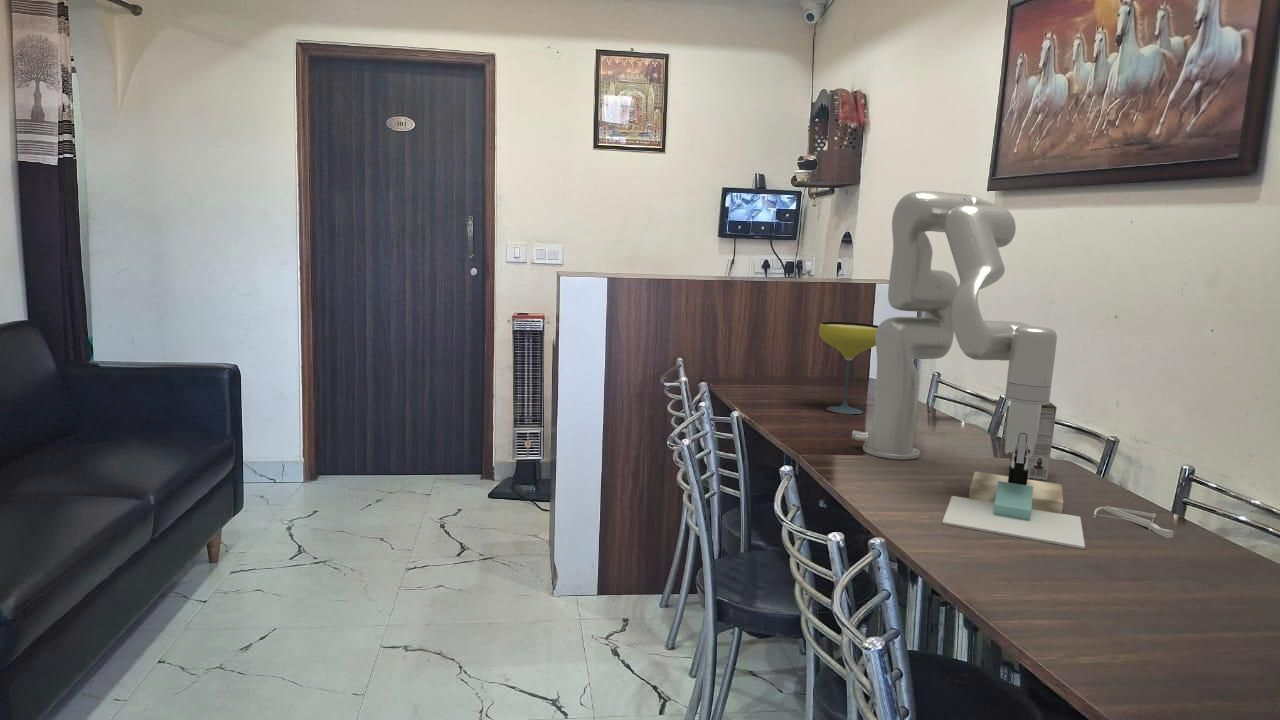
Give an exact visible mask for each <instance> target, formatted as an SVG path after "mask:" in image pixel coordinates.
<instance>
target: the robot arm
mask: <svg viewBox="0 0 1280 720" xmlns="http://www.w3.org/2000/svg"><path fill="white" fill-rule="evenodd" d="M1016 227H1017V226H1016V221H1015V218H1014V216H1013V215H1012V213H1011V212H1010V211H1009V210H1008V209H1007V208H1006V207H1004V206H1001V205H999V204H997V203H994V202H991V201H988V200H985V199H984V198H980V197H979V196H975V195H972V194H967V193H966V194H963V193H953V192H943V191H936V190H935V191H933V190H931V191H929V190H920V191H913V192H909V193H907V194H905V195H904V196H902V197H901V198H900V200H899V201H898V202H897V204H896V206H895V208H894V210H893V214H892V220H891V232H892V234H891V235H892V246H893V248H892V256H891V263H890V272H889V280H888V287H887V288H888V289H887V290H888V291H887V299H888V303H889V305H890V307H892V308H893V309H894V310H897V311H902V312H915V313H916V312H919V313H920V312H921V313H922V312H923V313H924V317H917V316H895V317H890V318H886V319H884V320H883V321H882V322H881V323H879V325H877V326H878V328H877V331H876V337H875V340H876V346H875V349H876V364H877V365H876V375H875V376H876V379H875V391H874V401H873V412H872V424H871V429H870V430H869V431H866V432H865V431H860V430H852V433H851V438H852V439H853V440H855V441H858V442H859V441H860V442H861V441H862V442H865V443H864V444H863V446H862V450H863V451H864V452H865V453H867V454H869V455H871V456H875V457H878V458H879V457H880V458H884V459H888V460H889V459H891V460H914V459H917V458H919V457H920V454H921V452H920V450H919V449H918V448H917V447H916V448H915V446H914V440H915V431H916V430H915V429H916V420H917V410H918V403H919V402H918V400H919V391H920V374H919V372H918V369H917V368H916V365H915V363H914V360H936V359H941V358H944V357H945V356H947V354H948V353H949V351H950V350H951V348H952V345H953V340H954V336H955V338H956V341H957V343H958V346H959V348H960V350H961V351H962V353H963V354H964V355H965V356H966V357H968V358H969V359H972V360H976V361H1008V368H1007V377H1006V386H1005V388H1006V389H1005V395H1004V399H1005V400H1006V401H1010V404H1009V409H1008V414H1007V415H1008V416H1007V425H1006V433H1005V443H1004V453H1005V454H1006V455H1009V453H1012V451H1013V453H1012V464H1011V466H1010V467H1009V471H1008V476H1009V478H1008V483H1015V484H1021V485H1027V479H1028V478H1027V477H1028V469H1027V466H1028V458H1029V457H1031V456H1033V453H1034V449H1035V445H1036V440H1037V435H1038V429H1039V422H1040V414H1041V407H1042V405H1046V404H1049V402H1050V400H1051V393H1052V392H1051V391H1052V390H1051V389H1052V383H1053V375H1054V374H1053V373H1054V367H1055V357H1056V349H1057V341H1058V335H1057V332H1056V331H1055V330H1054V329H1052V328H1049V327H1044V326H1036V325H1035V326H1032V325H1030V324H1026V323H1024V322H1021V321H1008V320H1007V321H1006V320H1005V321H1004V320H984V319H983V317H982V313H981V310H980V308H979V307H980V306H979V302H978V301H979V300H978V296H979V292H980V290H982V289H985V288H987V287H989V286H990V285H993V284H995V283H997V282H998V281H999V280H1000V279H1001V278H1002V277H1003V276H1004V274H1005V270H1006V269H1005V264H1004V262H1003V260H1002V259H1003V258H1002V255H1001V254H1000V250H999V248H1004V247H1006V246H1008V245H1009V244H1010V243H1011V242H1012V241H1013V239H1014V237H1015V235H1016ZM926 232H936V233H944V234H945V235H946V239H947V241H948V245H949V249H950V252H951V254H952V258H953V260H954V265H955V268H956V271H957V273H958V278H959V284H958V283H957V280H956V278H955V277H954V275H952V274H951V273H950V272H948V271H945V270H938V269H937V270H936V269H935V270H934V269H932V259H933V246H932V244H931V241H930V239H929V237H928V235H927V234H926ZM1015 449H1016V450H1015ZM1014 464H1015V465H1014Z"/></svg>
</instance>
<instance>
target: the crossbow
mask: <svg viewBox="0 0 1280 720" xmlns="http://www.w3.org/2000/svg"><path fill="white" fill-rule="evenodd" d="M1101 510H1102V511H1103V510H1104V511H1106V512H1109V513H1110V514H1112V515H1115V516H1117V517H1118V519H1121V520H1126V521H1129V522H1131V523H1135V524H1137V525H1140V526H1143V527H1144V528H1148V530H1149V531H1152V532H1154V533H1156V534H1157V535H1160V536H1161V537H1164V538H1165V539H1173V538H1174V530H1171V529H1165V528H1162V527H1160V526H1159V525H1157V523H1155V522H1154V519H1156V518H1155V517H1157V514H1156V513H1149V512H1145V511H1139V510H1133V509H1126V508H1120V507H1111V506H1109V505H1106V506H1100V507H1099V506H1098V507H1097V508H1096V509H1095V510H1094V512H1093V519H1096V518H1097V516H1098V512H1099V511H1101ZM1134 514H1135V515H1134ZM1137 515H1140V516H1141V515H1142V516H1144V517H1149V518H1152V521H1151V520H1150V519H1146V518H1143V517H1139V516H1137ZM1100 516H1101V517H1104V515H1103V514H1100ZM1115 516H1112V518H1113V519H1117V517H1115ZM1106 517H1109V518H1111V516H1108V515H1106Z"/></svg>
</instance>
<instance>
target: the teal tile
mask: <svg viewBox="0 0 1280 720" xmlns="http://www.w3.org/2000/svg"><path fill="white" fill-rule="evenodd" d="M1032 495H1033V486H1028V485H1021V484H1015V483H1008V482H1001V481H998V485H997V492H996V498H995V505H994V514H995V515H1000V516H1006V517H1012V518H1018V519H1024V520H1030V517H1031V508H1032Z"/></svg>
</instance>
